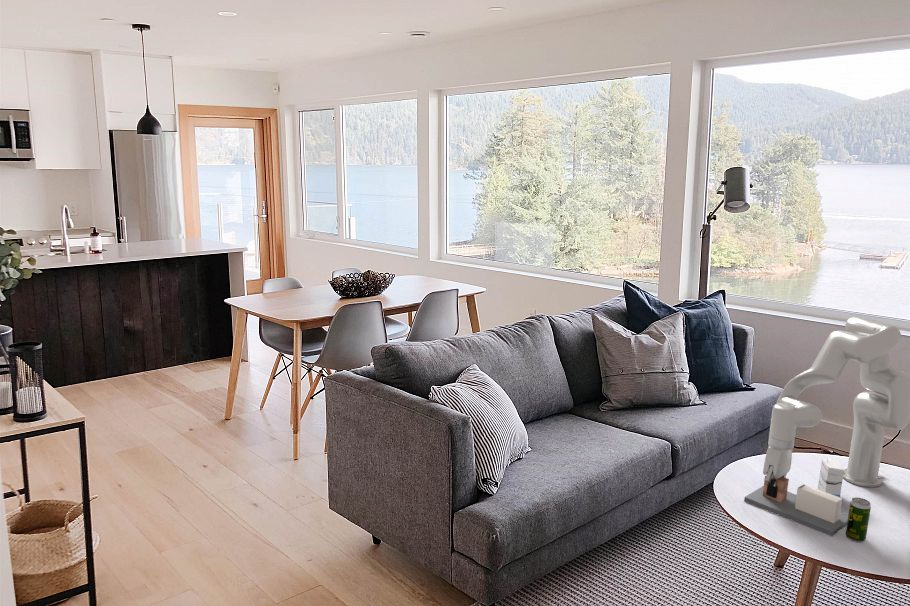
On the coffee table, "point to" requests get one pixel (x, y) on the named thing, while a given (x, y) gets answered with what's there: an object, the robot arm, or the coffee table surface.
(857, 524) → the beer can
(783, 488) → the stub
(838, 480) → the ink box
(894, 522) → the coffee table surface
